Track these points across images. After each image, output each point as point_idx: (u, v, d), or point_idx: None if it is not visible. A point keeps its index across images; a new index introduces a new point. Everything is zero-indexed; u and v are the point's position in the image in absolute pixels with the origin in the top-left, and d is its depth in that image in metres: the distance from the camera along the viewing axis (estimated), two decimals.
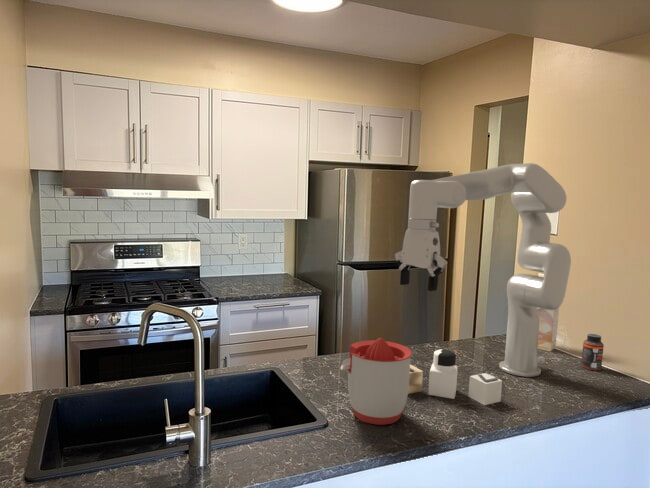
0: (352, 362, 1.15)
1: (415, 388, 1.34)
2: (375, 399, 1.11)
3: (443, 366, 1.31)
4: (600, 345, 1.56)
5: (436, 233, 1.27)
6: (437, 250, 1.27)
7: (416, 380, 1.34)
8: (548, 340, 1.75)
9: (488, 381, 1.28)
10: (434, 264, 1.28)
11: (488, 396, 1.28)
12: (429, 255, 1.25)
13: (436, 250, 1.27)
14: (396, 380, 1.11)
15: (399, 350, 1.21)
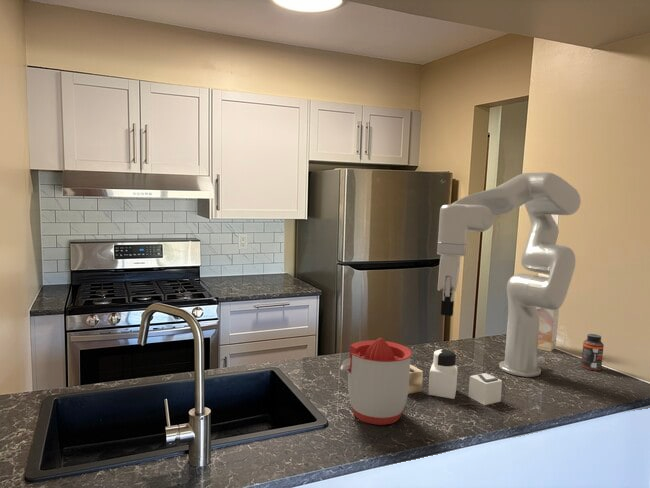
0: (352, 362, 1.15)
1: (415, 388, 1.34)
2: (375, 399, 1.11)
3: (443, 366, 1.31)
4: (600, 345, 1.56)
5: None
6: None
7: (416, 380, 1.34)
8: (548, 340, 1.75)
9: (488, 381, 1.28)
10: None
11: (488, 396, 1.28)
12: None
13: None
14: (396, 380, 1.11)
15: (399, 350, 1.21)
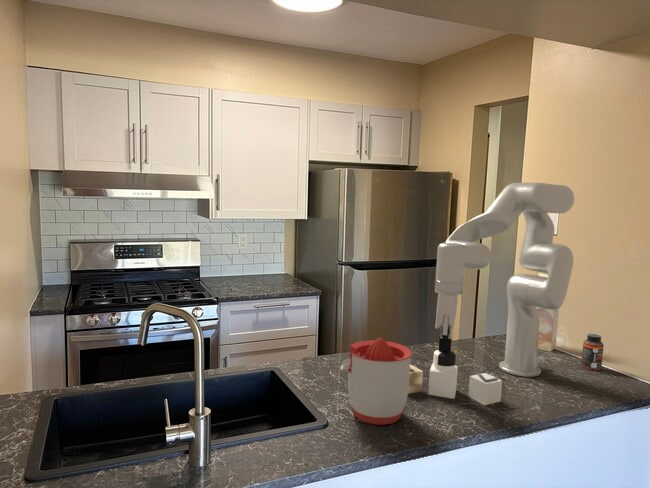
0: (352, 362, 1.15)
1: (415, 389, 1.34)
2: (375, 399, 1.11)
3: (443, 366, 1.31)
4: (600, 345, 1.56)
5: None
6: None
7: (416, 380, 1.34)
8: (548, 340, 1.75)
9: (488, 381, 1.28)
10: None
11: (488, 396, 1.28)
12: None
13: None
14: (396, 380, 1.11)
15: (399, 350, 1.21)
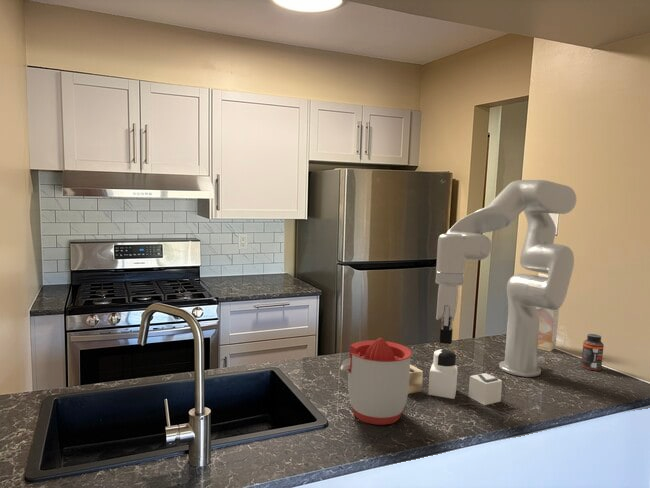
0: (352, 362, 1.15)
1: (415, 388, 1.34)
2: (375, 399, 1.11)
3: (443, 366, 1.31)
4: (600, 345, 1.56)
5: None
6: None
7: (416, 380, 1.34)
8: (548, 340, 1.75)
9: (488, 381, 1.28)
10: None
11: (488, 396, 1.28)
12: None
13: None
14: (396, 380, 1.11)
15: (399, 350, 1.21)
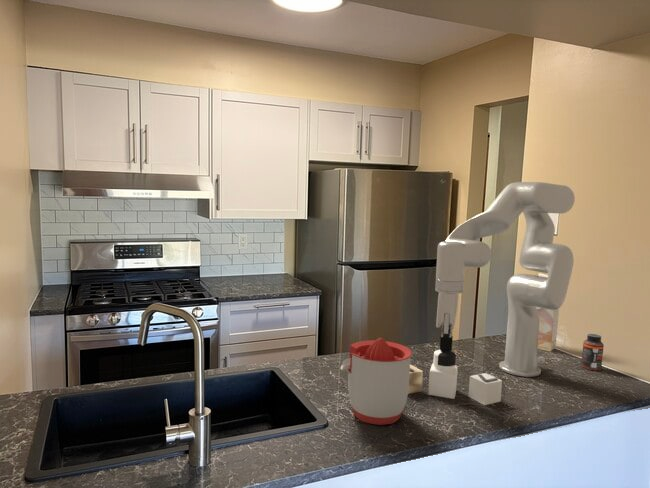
0: (352, 362, 1.15)
1: (415, 388, 1.34)
2: (375, 399, 1.11)
3: (443, 366, 1.31)
4: (600, 345, 1.56)
5: None
6: None
7: (416, 380, 1.34)
8: (548, 340, 1.75)
9: (488, 381, 1.28)
10: None
11: (488, 396, 1.28)
12: None
13: None
14: (396, 380, 1.11)
15: (399, 350, 1.21)
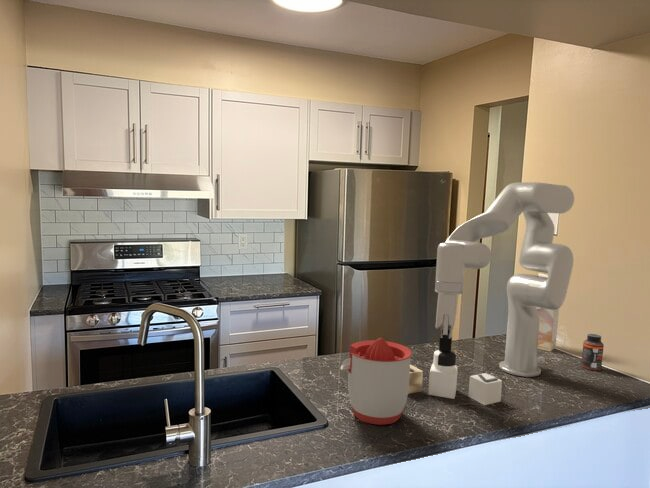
0: (352, 362, 1.15)
1: (415, 388, 1.34)
2: (375, 399, 1.11)
3: (443, 366, 1.31)
4: (600, 345, 1.56)
5: None
6: None
7: (416, 380, 1.34)
8: (548, 340, 1.75)
9: (488, 381, 1.28)
10: None
11: (488, 396, 1.28)
12: None
13: None
14: (396, 380, 1.11)
15: (399, 350, 1.21)
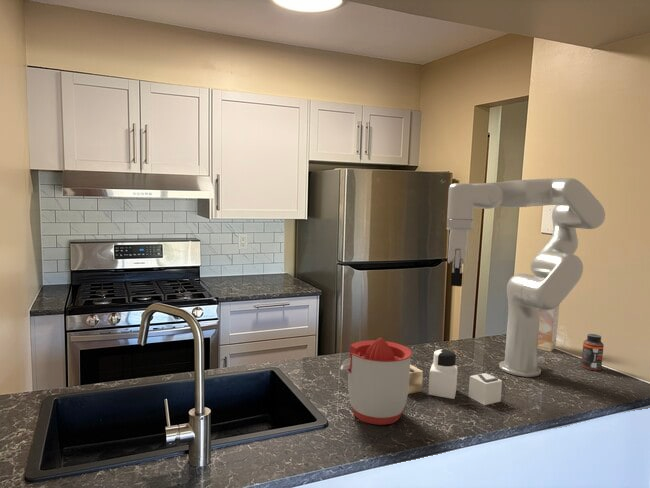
0: (352, 361, 1.15)
1: (415, 388, 1.34)
2: (375, 399, 1.11)
3: (443, 366, 1.31)
4: (600, 345, 1.56)
5: None
6: None
7: (416, 380, 1.34)
8: (548, 340, 1.75)
9: (488, 381, 1.28)
10: None
11: (488, 396, 1.28)
12: None
13: None
14: (396, 380, 1.11)
15: (399, 350, 1.21)
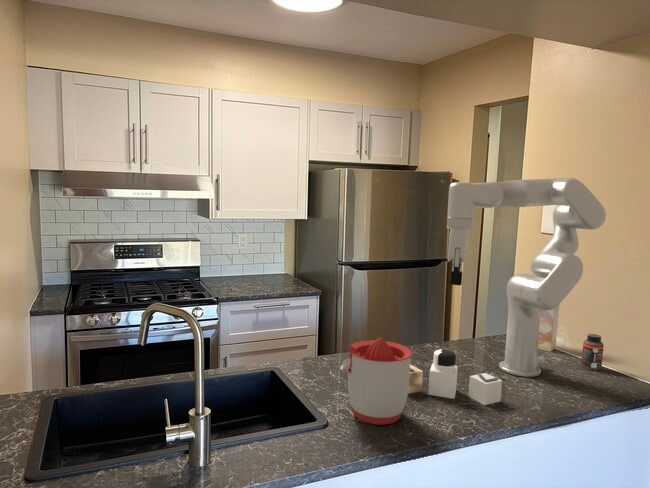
0: (352, 362, 1.15)
1: (415, 389, 1.34)
2: (375, 399, 1.11)
3: (443, 366, 1.31)
4: (600, 345, 1.56)
5: None
6: None
7: (416, 380, 1.34)
8: (548, 340, 1.75)
9: (488, 381, 1.28)
10: None
11: (488, 396, 1.28)
12: None
13: None
14: (396, 380, 1.11)
15: (399, 350, 1.21)
